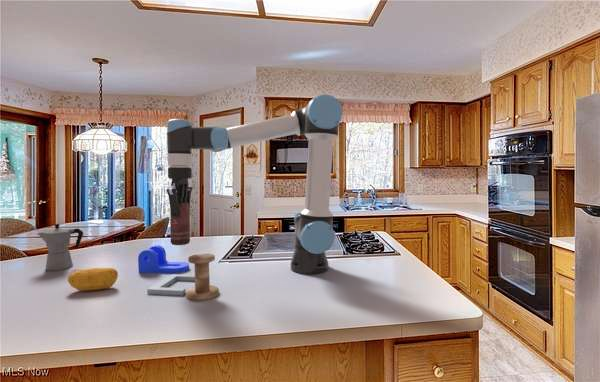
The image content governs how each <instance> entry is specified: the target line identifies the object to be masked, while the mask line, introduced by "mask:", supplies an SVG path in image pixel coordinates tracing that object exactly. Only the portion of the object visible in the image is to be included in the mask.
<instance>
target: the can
mask: <svg viewBox="0 0 600 382" xmlns="http://www.w3.org/2000/svg"><path fill="white" fill-rule="evenodd" d="M179 210H180V217H172V216H171V209H170V208H169V216H170V219H169V222H170V231H169V232H170V244H171V245H173V246H185V245H189V244H190V242H191V232H190V229H191V228H190V227H191V226H190V224H191V221H190V217H191V216H190V215H191V214H190V210H189V203H188V202H187V203H180V204H179Z"/></svg>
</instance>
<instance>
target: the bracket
mask: <svg viewBox="0 0 600 382" xmlns="http://www.w3.org/2000/svg"><path fill="white" fill-rule="evenodd" d="M137 263H138V264H137V265H138V273H142V274H145V273H146V274H147V273H148V274H180V273H185V272H187V271H189V270H190V263H189V262H186V261H168V260H167V252H166V250H165V248H164V247H163V246H162V245H159V244H156V245H153V246H151V247H149V248H147V249H144V250H142V251H141V252H140V253H139V254H138V257H137Z"/></svg>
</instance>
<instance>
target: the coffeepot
mask: <svg viewBox="0 0 600 382" xmlns="http://www.w3.org/2000/svg"><path fill="white" fill-rule="evenodd" d="M54 227H55V228H53V229H49V230H44V231H41V232H38V233H37V234H36V235H38V236H39V237H41V239H42V240H43V241H44V242H45V245H46V249H47V251H48V253H47V256H46V264H45V269H46V271H48V272H49V271H50V272H52V271H54V272H55V271H61V270H62V271H63V270H67V269H69V268H72V267H73V266H74V263H73V259H72V257H71V253H70V250H69V247H70V244H71V243H70V242H71V235H72V234H77V239H76V241H75V245H72V246H71V247H72V249H78V248H79V247H80V244H81V241H82V239H83V236H84V232H83V230H81V229H80V228H62V227H60V223H55V224H54Z"/></svg>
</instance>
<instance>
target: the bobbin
mask: <svg viewBox="0 0 600 382" xmlns="http://www.w3.org/2000/svg"><path fill="white" fill-rule="evenodd" d="M187 258H188V262H187V263H189V264H194V275H195V281H194V287H191V288H188V289H186V293H185V298H186V299H187V300H189V301H192V300H194V301H195V302H201V301H200V300H203V301H208V299H209V300H212V299H214V298H216V297H218V296H219V294H220V292H219V291H220V290H219V287H217V286H215V285H212V284H211V285H210V283H211V281H210V263H212V262H213V261H215V258H216V257H215V255H214V254H212V253H197V254H196V253H195V254H192V255H190V256H189V257H187ZM194 301H193V302H194Z"/></svg>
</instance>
